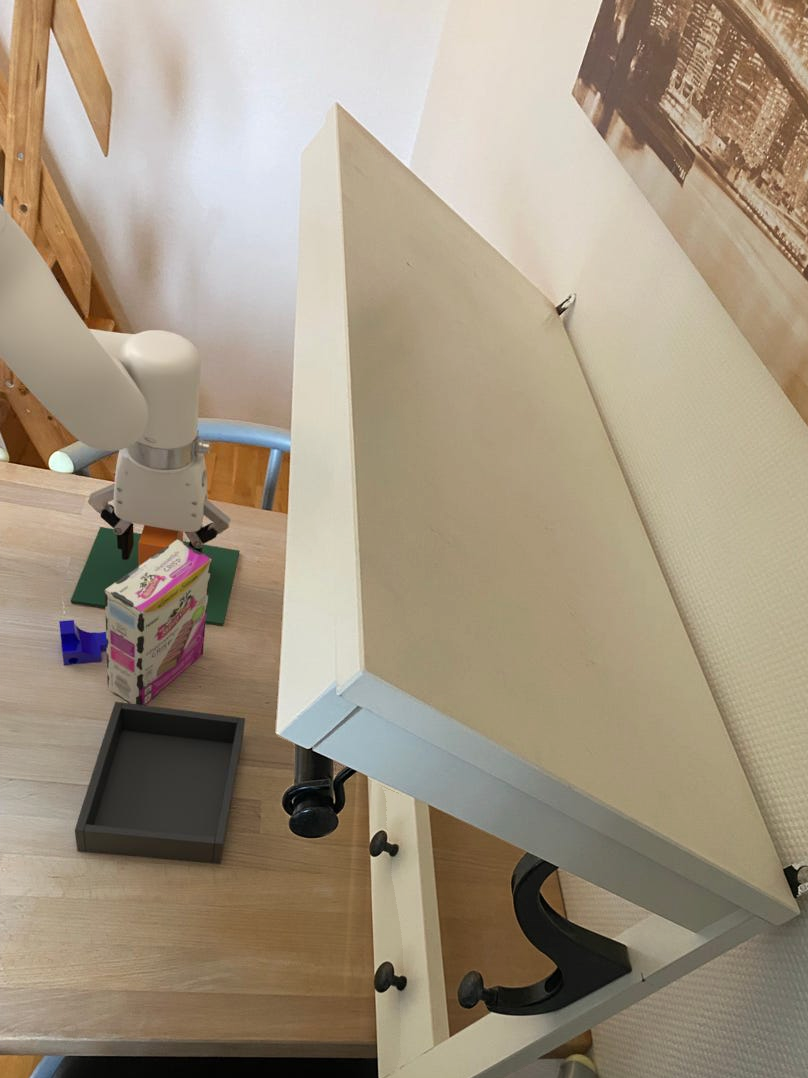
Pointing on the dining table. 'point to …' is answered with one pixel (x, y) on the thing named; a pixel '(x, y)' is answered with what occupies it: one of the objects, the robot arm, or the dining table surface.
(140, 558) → the orange block
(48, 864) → the dining table surface
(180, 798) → the bin
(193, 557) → the candy bar box
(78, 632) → the cable holder
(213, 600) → the mat
